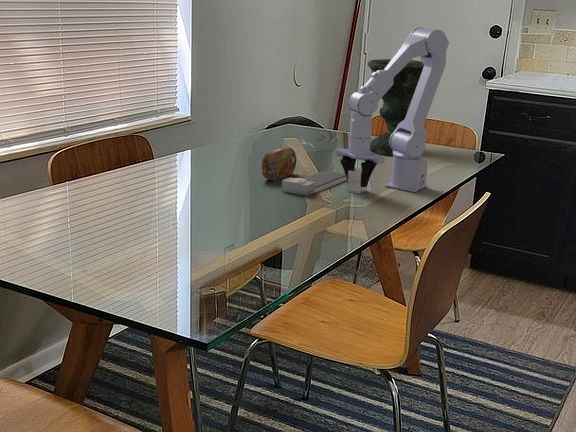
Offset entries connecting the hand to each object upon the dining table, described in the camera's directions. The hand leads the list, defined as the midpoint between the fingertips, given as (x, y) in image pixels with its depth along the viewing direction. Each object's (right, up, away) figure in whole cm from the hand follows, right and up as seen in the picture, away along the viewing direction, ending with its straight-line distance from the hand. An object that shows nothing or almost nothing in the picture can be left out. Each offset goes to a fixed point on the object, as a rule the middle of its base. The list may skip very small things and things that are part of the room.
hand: (357, 185), depth 206 cm
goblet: (+18, +14, +51) cm, 56 cm away
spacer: (0, -2, +1) cm, 2 cm away
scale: (-11, 0, +5) cm, 12 cm away
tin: (-22, +3, +12) cm, 25 cm away
